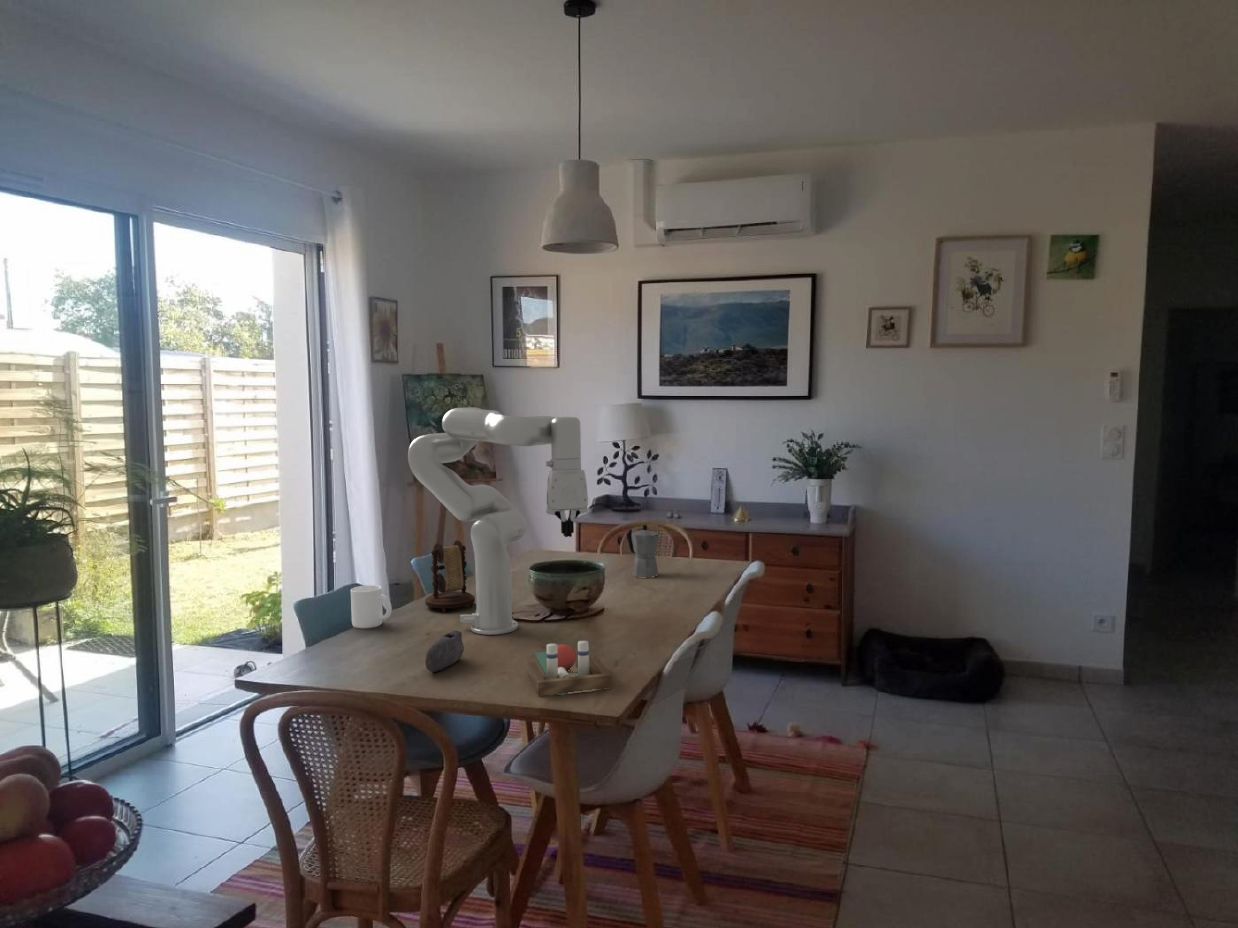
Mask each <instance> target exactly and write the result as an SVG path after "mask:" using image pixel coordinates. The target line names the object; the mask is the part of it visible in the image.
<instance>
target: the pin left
mask: <svg viewBox="0 0 1238 928" xmlns="http://www.w3.org/2000/svg"><path fill="white" fill-rule="evenodd" d="M558 645H559V644H558V643H548V644H546V652H547V676H546V678H547V679H555V678H558Z"/></svg>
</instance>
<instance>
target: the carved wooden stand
mask: <svg viewBox="0 0 1238 928" xmlns="http://www.w3.org/2000/svg"><path fill="white" fill-rule="evenodd" d="M466 549H467V548H466V545H463V544H462V542H461V541H460V539H456V540H455V541H454V542H453V545H450V546H445V547H443V546H442V544H441V543H440V542H436V543H435V544H434V546H433V549H432V550H431V558H432V562H431V563H432V565H431V566H430V567H431V568H430V570H431V572H432V574H433V575H432V580H433V581H431V582H432V583H431V585H432V589H433V591H432V594H430V595H429V596H428V597H426V598H425V599H424V604H425V606H426V607H429V608H434V609H441V610H442V612H443V613H444V614H445V613H446V610H447V609H453V608H454V609H455V608H462V607H466V606H470V607H471V608H473V607H474V605H475V603H476V595H474V594H472V593H470V592H467V586H466V583H467V582H466V581H467V578H468V577H467V576H466V574H467V573H466V572H467V571H466V570H465V569H466V567H467V564H468V562H467V561H466ZM438 563H439V564H440V565H438ZM443 564H444V565H443ZM442 570H443V571H444V575H443V574H442V573H440V572H439V571H442ZM444 576H445V577H444Z"/></svg>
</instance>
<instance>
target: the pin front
mask: <svg viewBox="0 0 1238 928" xmlns="http://www.w3.org/2000/svg"><path fill="white" fill-rule="evenodd" d="M565 677H570V676H569V674H568V673H567V671H566V670H565V669H564V668H563V667H559V668H558V678H565Z"/></svg>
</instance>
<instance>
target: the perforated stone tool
mask: <svg viewBox="0 0 1238 928" xmlns="http://www.w3.org/2000/svg"><path fill="white" fill-rule="evenodd" d="M464 651H465V647H464V643H463V633H462V632H461V631H459V630H451V631H450V632H448V633H446V634H444V635H442V636H441V637H440V638H438V639H437V640H436V641H435V642H433V644H432V645H431V646H430V647H429V648H428V649H427V652H426V654H425V660H424V661H425V667H426V670H427V671H429V672H431V673H436V672H439V670H440V671H442V670H444V669H446V668H448V667H450V666H452V665H453V664H455V663H456V662H458V661H459V659H461V658H462V657H463V653H464ZM449 665H450V666H449ZM445 667H446V668H445Z"/></svg>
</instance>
